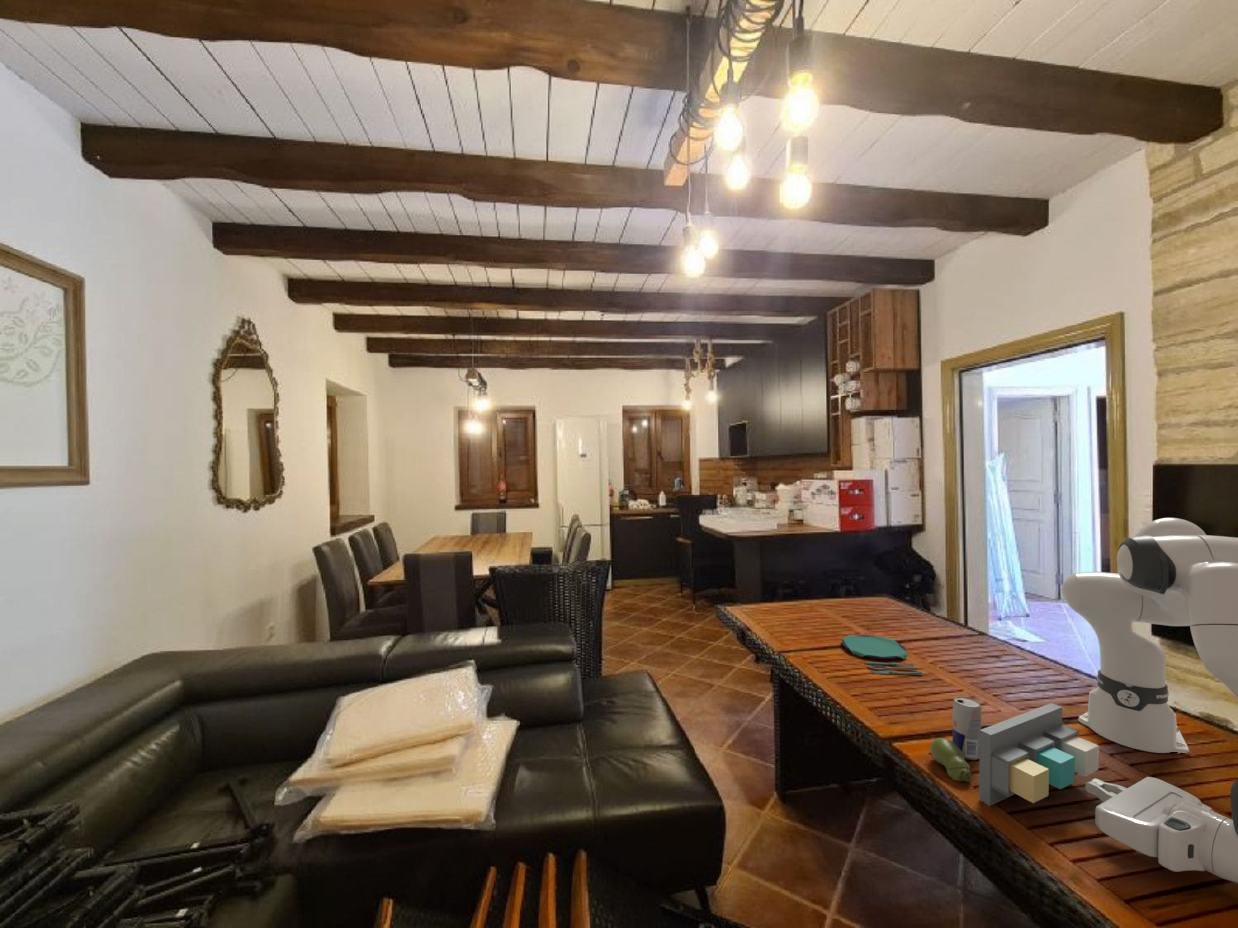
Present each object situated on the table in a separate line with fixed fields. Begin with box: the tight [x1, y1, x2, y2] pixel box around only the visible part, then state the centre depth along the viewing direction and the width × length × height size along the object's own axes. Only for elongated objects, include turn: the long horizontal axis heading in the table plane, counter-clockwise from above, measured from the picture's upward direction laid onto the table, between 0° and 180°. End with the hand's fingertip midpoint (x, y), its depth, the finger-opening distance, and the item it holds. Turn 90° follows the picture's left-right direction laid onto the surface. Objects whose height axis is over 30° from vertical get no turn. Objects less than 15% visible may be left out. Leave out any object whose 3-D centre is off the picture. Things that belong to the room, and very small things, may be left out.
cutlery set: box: [841, 634, 923, 677], centre depth 172 cm, size 20×30×2 cm, turn 171°
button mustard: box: [1010, 758, 1050, 804], centre depth 97 cm, size 5×4×5 cm
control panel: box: [978, 702, 1080, 807], centre depth 104 cm, size 25×5×14 cm, turn 115°
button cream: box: [1062, 736, 1100, 777], centre depth 104 cm, size 5×4×5 cm
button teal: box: [1037, 746, 1076, 790], centre depth 101 cm, size 5×4×5 cm
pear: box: [930, 737, 973, 783], centre depth 111 cm, size 6×5×10 cm
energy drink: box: [951, 696, 982, 761], centre depth 117 cm, size 5×5×12 cm
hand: (1089, 783), depth 96 cm, fingers closed
